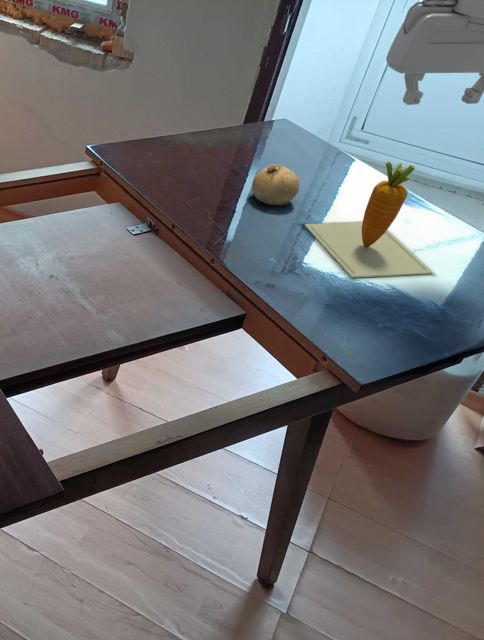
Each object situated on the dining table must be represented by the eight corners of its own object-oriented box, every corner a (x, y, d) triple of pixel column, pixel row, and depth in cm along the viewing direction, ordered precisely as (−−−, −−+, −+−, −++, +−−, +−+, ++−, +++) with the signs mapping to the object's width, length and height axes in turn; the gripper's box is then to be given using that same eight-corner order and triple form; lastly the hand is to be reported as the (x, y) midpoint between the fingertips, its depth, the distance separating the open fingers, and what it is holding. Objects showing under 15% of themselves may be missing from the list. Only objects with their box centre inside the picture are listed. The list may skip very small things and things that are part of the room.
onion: (262, 186, 130) (273, 150, 125) (301, 201, 126) (313, 165, 121) (240, 199, 125) (251, 163, 120) (280, 216, 121) (292, 179, 116)
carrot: (343, 242, 115) (378, 157, 105) (365, 237, 116) (402, 153, 107) (365, 257, 111) (404, 172, 102) (388, 252, 113) (428, 167, 103)
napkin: (431, 273, 109) (432, 272, 109) (351, 278, 107) (352, 276, 107) (376, 222, 121) (377, 221, 121) (303, 225, 119) (304, 223, 119)
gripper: (429, 2, 85) (386, 112, 94) (571, 3, 88) (516, 110, 97) (400, -10, 90) (361, 96, 99) (536, -9, 93) (486, 94, 102)
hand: (439, 103), depth 98 cm, fingers open, 8 cm apart
